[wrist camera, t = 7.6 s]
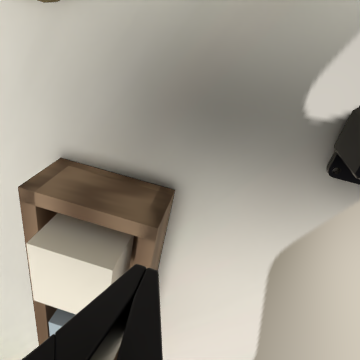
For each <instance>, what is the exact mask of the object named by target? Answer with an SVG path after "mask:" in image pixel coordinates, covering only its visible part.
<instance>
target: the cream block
mask: <svg viewBox="0 0 360 360" xmlns="http://www.w3.org/2000/svg"><path fill="white" fill-rule="evenodd" d="M133 239H134V235H130V234H127V233H124V232H120V231H117V230H114V229H110V228H107V227H104V226H100V225H97V224H94V223H90V222H87V221H84V220H80V219H77V218H74V217H71V216H67V215H64V214H61V213H57V214H56V215H55V216H54V217H53V218H52V219H51V220H50V221H49V222H48V223H47V224H46V225H45V226H44V227H43V228H42V229H41V230H40V231H39V232H38V233H36V234H35V235H34V236H33V237H32V238H31V239H30V240H29V241H28V242H27V243H26V245H27V253H28V260H29V268H30V276H31V283H32V291H33V299H34V301H37V302H40V303H43V304H46V305H49V306H52V307H55V308H58V309H61V310H64V311H67V312H70V313H73V314H77V313H78V312H80V311H81V310H82V309H83V308H84V307H85V306H87V305H88V304H89V303H90V302H91V301H92V300H94V299H95V298H96V297H97V296H98V295H100V294H101V293H102V292H103V291H104V290H105V289H107V288H108V287H109V286H110V285H111V284H112V283H114V282H115V281H116V280H117V279H118V278H119V277H121V276H122V275H123V274H124V273H125V272H127V271H128V270H129V268H130V260H131V253H132V246H133Z"/></svg>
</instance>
